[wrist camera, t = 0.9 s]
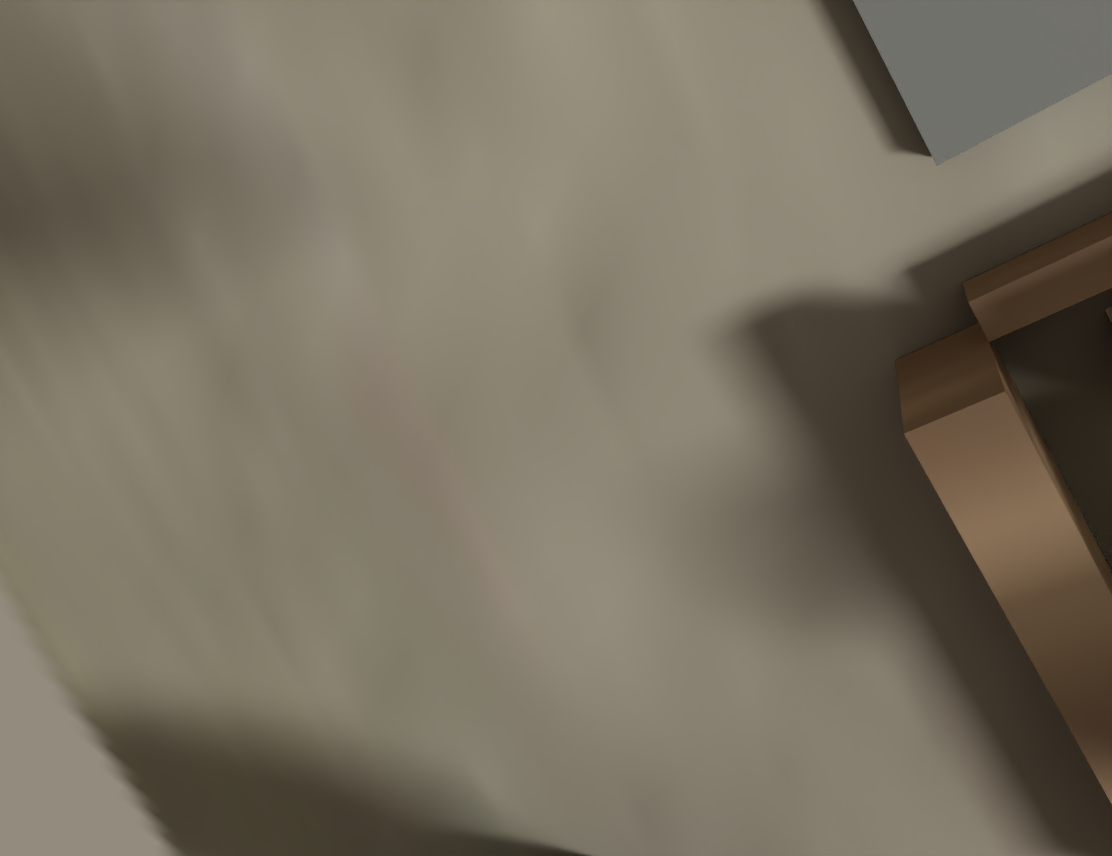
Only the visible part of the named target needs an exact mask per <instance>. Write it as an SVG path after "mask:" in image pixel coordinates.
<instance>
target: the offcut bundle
mask: <svg viewBox="0 0 1112 856" xmlns="http://www.w3.org/2000/svg"><path fill="white" fill-rule="evenodd" d="M1105 311H1106V313H1107V315H1108V317H1109V319H1110V321H1111V324H1112V307H1110V308H1107V309H1105Z"/></svg>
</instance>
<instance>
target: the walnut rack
mask: <svg viewBox="0 0 1112 856" xmlns="http://www.w3.org/2000/svg"><path fill="white" fill-rule="evenodd" d="M962 284H963V287H964V290H965V294H966V297H967V300H968V303H969V305H970V307H971V309H972V311H973V312H974V314H975V316H976V318H977V320H978V322H979V323H977V324H975V325H973V326H970V327H968V328H966V329H964V330H961V331H959V332H957V333H955V334H953V335H950V336H948V337H946V338H944V339H942V340H939V341H937V342H935V343H933V344H931V345H928V346H926V347H924V348H922V349H920V350H917V351H915V352H913V353H911V354H908V355H906V356H904V357H902V358H900V359H897V360H895V361H896V370H897V379H898V387H899V396H900V405H901V414H902V422H903V431H904V435H905V437H906V439H907V440H908V442H909V444H910V446H911V447H912V449H913V451H914V453H915V455H916V456H917V458H918V460H919V462H920V464H921V465H922V467H923V469H924V471H925V472H926V474H927V476H928V478H929V480H930V481H931V483H932V485H933V487H934V488H935V490H936V492H937V494H938V496H939V497H940V499H941V501H942V503H943V505H944V506H945V508H946V510H947V512H948V513H949V515H950V517H951V519H952V521H953V522H954V524H955V526H956V528H957V529H958V531H959V533H960V535H961V537H962V538H963V540H964V542H965V544H966V546H967V547H968V549H969V551H970V553H971V554H972V556H973V558H974V560H975V562H976V563H977V565H978V567H979V569H980V570H981V572H982V574H983V576H984V578H985V579H986V581H987V583H988V585H989V587H990V588H991V590H992V592H993V594H994V595H995V597H996V599H997V601H998V603H999V604H1000V606H1001V608H1002V610H1003V611H1004V613H1005V615H1006V617H1007V619H1008V620H1009V622H1010V624H1011V626H1012V628H1013V629H1014V631H1015V633H1016V635H1017V636H1018V638H1019V640H1020V642H1021V644H1022V645H1023V647H1024V649H1025V651H1026V652H1027V654H1028V656H1029V658H1030V660H1031V661H1032V663H1033V665H1034V667H1035V669H1036V670H1037V672H1038V674H1039V676H1040V677H1041V679H1042V681H1043V683H1044V685H1045V686H1046V688H1047V690H1048V692H1049V693H1050V695H1051V697H1052V699H1053V701H1054V702H1055V704H1056V706H1057V708H1058V710H1059V711H1060V713H1061V715H1062V717H1063V718H1064V720H1065V722H1066V724H1067V726H1068V727H1069V729H1070V731H1071V733H1072V734H1073V736H1074V738H1075V740H1076V742H1077V743H1078V745H1079V747H1080V749H1081V750H1082V752H1083V754H1084V756H1085V758H1086V759H1087V761H1088V763H1089V765H1090V767H1091V768H1092V770H1093V772H1094V774H1095V775H1096V777H1097V779H1098V781H1099V783H1100V784H1101V786H1102V788H1103V790H1104V791H1105V793H1106V795H1107V797H1108V799H1109V800H1110V802H1111V804H1112V571H1111V569H1110V567H1109V565H1108V563H1107V562H1106V560H1105V558H1104V556H1103V554H1102V552H1101V550H1100V548H1099V546H1098V544H1097V542H1096V540H1095V538H1094V536H1093V535H1092V533H1091V531H1090V529H1089V527H1088V525H1087V523H1086V521H1085V519H1084V517H1083V515H1082V513H1081V511H1080V509H1079V507H1078V506H1077V504H1076V502H1075V500H1074V498H1073V496H1072V494H1071V492H1070V490H1069V488H1068V486H1067V484H1066V482H1065V480H1064V479H1063V477H1062V475H1061V473H1060V471H1059V469H1058V467H1057V465H1056V463H1055V461H1054V459H1053V457H1052V455H1051V453H1050V452H1049V450H1048V448H1047V446H1046V444H1045V442H1044V440H1043V438H1042V436H1041V434H1040V432H1039V430H1038V428H1037V426H1036V424H1035V423H1034V421H1033V419H1032V417H1031V415H1030V413H1029V411H1028V409H1027V407H1026V405H1025V403H1024V401H1023V399H1022V397H1021V396H1020V394H1019V392H1018V390H1017V388H1016V386H1015V384H1014V382H1013V380H1012V378H1011V376H1010V374H1009V372H1008V370H1007V369H1006V367H1005V365H1004V363H1003V361H1002V359H1001V357H1000V355H999V353H998V351H997V349H996V347H995V345H994V343H993V340H995V339H997V338H1000V337H1002V336H1004V335H1006V334H1009V333H1011V332H1013V331H1015V330H1018V329H1020V328H1022V327H1024V326H1027V325H1029V324H1031V323H1034V322H1036V321H1038V320H1040V319H1043V318H1045V317H1047V316H1049V315H1052V314H1054V313H1056V312H1058V311H1061V310H1063V309H1065V308H1067V307H1070V306H1072V305H1074V304H1076V303H1079V302H1081V301H1083V300H1085V299H1088V298H1090V297H1092V296H1095V295H1097V294H1099V293H1101V292H1104V291H1106V290H1108V289H1110V288H1112V212H1111V213H1109V214H1107V215H1105V216H1103V217H1101V218H1099V219H1096V220H1094V221H1092V222H1090V223H1088V224H1086V225H1084V226H1082V227H1080V228H1077V229H1075V230H1073V231H1071V232H1069V233H1067V234H1065V235H1063V236H1060V237H1058V238H1056V239H1054V240H1052V241H1050V242H1048V243H1046V244H1044V245H1041V246H1039V247H1037V248H1035V249H1033V250H1031V251H1029V252H1027V253H1025V254H1022V255H1020V256H1018V257H1016V258H1014V259H1012V260H1010V261H1008V262H1005V263H1003V264H1001V265H999V266H997V267H995V268H993V269H991V270H989V271H986V272H984V273H982V274H980V275H978V276H976V277H974V278H972V279H970V280H967V281H965V282H963V283H962Z"/></svg>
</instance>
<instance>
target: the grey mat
mask: <svg viewBox="0 0 1112 856" xmlns="http://www.w3.org/2000/svg"><path fill="white" fill-rule="evenodd" d="M853 2H854V4H855V6H856V8H857V10H858V11H859V13H860V15H861V17H862V19H863V21H864V23H865V25H866V27H867V29H868V31H869V33H870V35H871V37H872V39H873V41H874V43H875V45H876V47H877V49H878V51H879V53H880V55H881V57H882V59H883V61H884V63H885V65H886V67H887V69H888V71H889V73H890V74H891V76H892V78H893V80H894V82H895V84H896V86H897V88H898V90H899V92H900V94H901V96H902V98H903V100H904V102H905V104H906V106H907V108H908V110H909V112H910V114H911V116H912V118H913V120H914V122H915V124H916V126H917V128H918V130H919V132H920V134H921V136H922V138H923V139H924V141H925V143H926V145H927V147H928V149H929V151H930V153H931V155H932V157H933V159H934V161H935V163H936V165H939V164H941V163H943V162H945V161H947V160H949V159H951V158H952V157H954V156H956V155H958V154H960V153H962V152H964V151H966V150H968V149H969V148H971V147H973V146H975V145H977V144H979V143H981V142H983V141H985V140H987V139H988V138H990V137H992V136H994V135H996V134H998V133H1000V132H1002V131H1004V130H1005V129H1007V128H1009V127H1011V126H1013V125H1015V124H1017V123H1019V122H1021V121H1022V120H1024V119H1026V118H1028V117H1030V116H1032V115H1034V114H1036V113H1038V112H1039V111H1041V110H1043V109H1045V108H1047V107H1049V106H1051V105H1053V104H1055V103H1057V102H1058V101H1060V100H1062V99H1064V98H1066V97H1068V96H1070V95H1072V94H1074V93H1075V92H1077V91H1079V90H1081V89H1083V88H1085V87H1087V86H1089V85H1091V84H1092V83H1094V82H1096V81H1098V80H1100V79H1102V78H1104V77H1106V76H1108V75H1109V74H1111V73H1112V0H853Z"/></svg>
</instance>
